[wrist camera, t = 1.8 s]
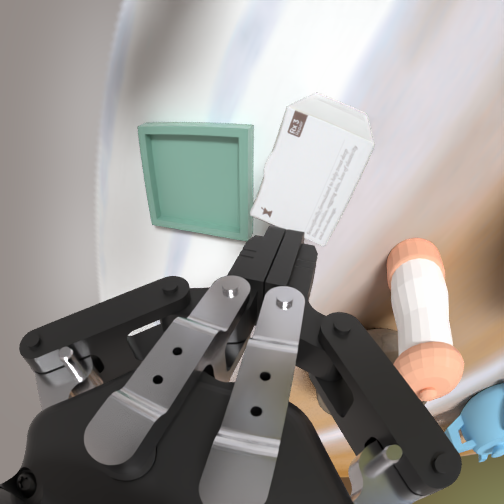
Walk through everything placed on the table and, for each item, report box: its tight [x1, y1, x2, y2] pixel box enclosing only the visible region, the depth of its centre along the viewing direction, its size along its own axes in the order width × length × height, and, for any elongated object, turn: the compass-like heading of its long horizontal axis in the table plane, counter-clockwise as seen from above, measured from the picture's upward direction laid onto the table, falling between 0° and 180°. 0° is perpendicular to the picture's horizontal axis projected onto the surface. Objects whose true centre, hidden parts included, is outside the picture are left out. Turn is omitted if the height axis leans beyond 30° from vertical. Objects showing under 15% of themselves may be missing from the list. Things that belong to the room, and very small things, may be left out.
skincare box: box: [250, 92, 375, 247], centre depth 24 cm, size 8×6×15 cm
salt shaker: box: [386, 238, 464, 401], centre depth 28 cm, size 7×7×19 cm
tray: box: [138, 122, 254, 241], centre depth 37 cm, size 14×14×2 cm
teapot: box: [444, 383, 504, 462], centre depth 40 cm, size 19×19×14 cm
